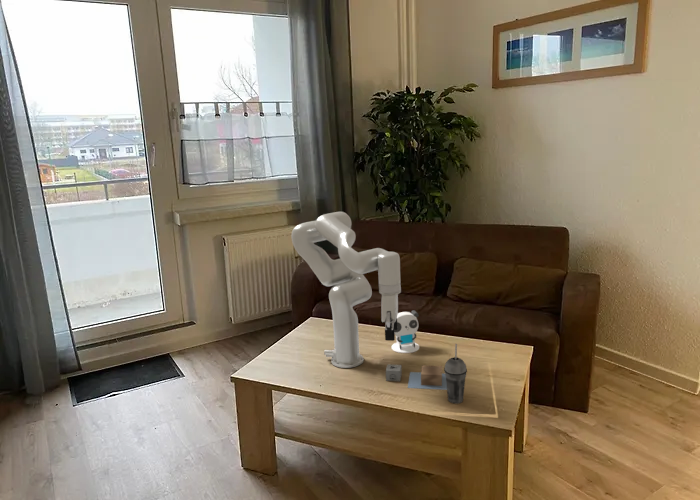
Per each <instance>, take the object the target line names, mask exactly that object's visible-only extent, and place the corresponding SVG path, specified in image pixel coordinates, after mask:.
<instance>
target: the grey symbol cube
mask: <svg viewBox="0 0 700 500" xmlns="http://www.w3.org/2000/svg"><path fill="white" fill-rule="evenodd" d="M385 368H386V369H385V381H386V382H401V380H402V372H403V371H402V370H403V369H402V364H392V363H391V364H389V363H388V364H387V365H386V367H385Z"/></svg>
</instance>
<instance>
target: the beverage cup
mask: <svg viewBox="0 0 700 500" xmlns="http://www.w3.org/2000/svg"><path fill="white" fill-rule="evenodd" d="M454 347H455V348H454V357H450V358H449V359H448V360H447V361H445V364H444V369H443V370H444V373H445V376H446V384H447V390H446V392H447V394H446V395H447V401H448V402H450V403H451V404H457V405H458V404H461V403H463V401H464V395H465V385H466V377H467V373H468V370H467V365H466V363H465V362H464V360H463V359H462V358H460V357H458V344H457V343H455V346H454Z"/></svg>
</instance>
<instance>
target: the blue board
mask: <svg viewBox="0 0 700 500" xmlns="http://www.w3.org/2000/svg"><path fill="white" fill-rule="evenodd" d="M407 388H408V389H421V390H422V389H424V390H425V389H426V390H443V391H444V390H446V391H447V384H446V376H445V372H444V373H443V372H442V386H433V385H421V371H420V372H416V371H410V372H409V377H408V383H407Z"/></svg>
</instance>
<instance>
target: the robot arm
mask: <svg viewBox="0 0 700 500" xmlns="http://www.w3.org/2000/svg"><path fill="white" fill-rule="evenodd" d="M290 235H291V243H292V245H293V248H294V250H295V251H296V252H297V254H298V255H299V256H300V257H301V258H302V259H303V260H304V261H305V262H306V264H307V265H308V266H309V268H310V269H311V270H312V272H313V273H314V275H315V276H316V278H317V279H318V280H319V282H320V283H321V285H323V286H325V287H331V288H330V290H329V293H328V299H329V303H330V308H331V314H332V315H331V316H332V326H333V342H334V343H333V345H334V349H332V350H331V349H324V351H323V353H324V356H325V358H330V359H331V360H330V361H331V364H332V365H333V366H335V367H337V368H342V369H352V368H355V367H358V366H360V365H362V364H363V363H364V360H365V359H364V356H363V354H361V353H360V339H359V336H360V335H359V319H358V314H357V313H356V311H355V310H354V308H353V307H355V306H356V305H360V304H362V303H366V302H367V301H368V300H369V299H371V297H372V294H373V291H372V285H371V284H370V283H369V281H368V279H367V278H366V276H365V274H367V273H368V274H369V273H372V272H374V271H377V272H378V273H377V274H378V277H377V278H378V280H377V281H378V293H379V294H380V295H381V300H380V301H381V305H380V306H381V307H380V308H381V309H380V310H381V322H382V323H385V325H384V340H385V341H390V342H391V341H392V342H394V341H396V340H395V339H396V335H395V333H394V330H397V315H398V313H399V297H398V296H399V294H401V293H402V287H401V281H402V280H401V258H400V254H399V253H398V252H395V251H388V250H386V249H384V248H380V247H376V248H372V249H367V250H363V251H359V252H358V251H356V250H355V249H354V248H352V246H353V245H354V244H355V241H356V236H357V235H356V232H355V231H354V230H353V229H352V219H351V217H350V215H348V214H347V213H346V212H344V211H336V212H335V211H334V212H330V213H323V214H322V215H320V216H318V217H317V218H316V219H315V220H311V221H306V222H302V223H299V224H297V225H296V226H294V228H293V229H292V231H291V234H290ZM323 241H328V242H329V243H331V244H332V245H333V246H334V247H336V248H337V253H338V257H339V258H336V259H332V258H331V257H330V256H329V254H328V253H327V252H326V250H325V249H323V247H321V246H318V245H317V244H315V243H317V242H323Z"/></svg>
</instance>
